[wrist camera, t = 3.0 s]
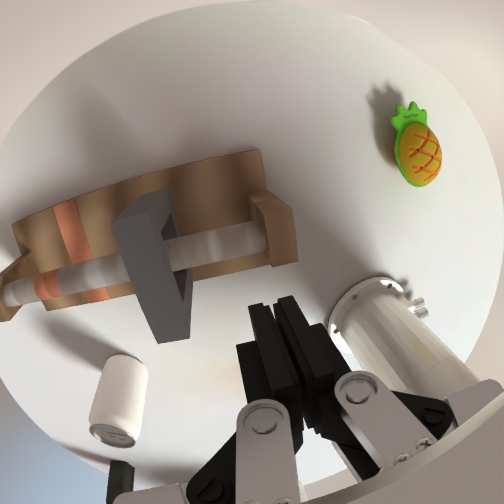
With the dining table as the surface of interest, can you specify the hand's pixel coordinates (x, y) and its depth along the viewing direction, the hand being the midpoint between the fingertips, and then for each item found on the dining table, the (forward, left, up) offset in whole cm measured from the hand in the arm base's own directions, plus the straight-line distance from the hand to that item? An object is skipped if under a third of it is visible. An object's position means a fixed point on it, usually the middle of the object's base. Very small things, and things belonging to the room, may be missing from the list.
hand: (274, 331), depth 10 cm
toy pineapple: (-22, -5, -20) cm, 30 cm away
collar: (+6, 0, -16) cm, 17 cm away
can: (+19, +18, -20) cm, 33 cm away
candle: (+39, +52, -20) cm, 68 cm away
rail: (+11, 0, -19) cm, 22 cm away
